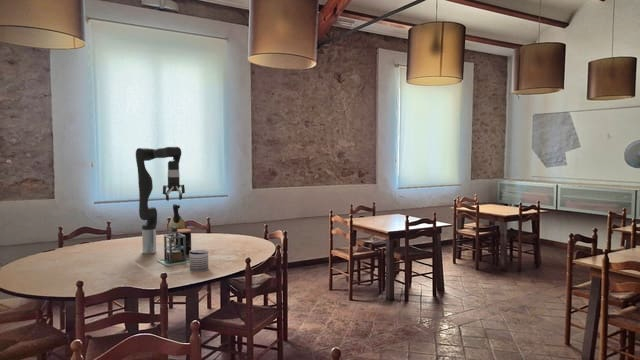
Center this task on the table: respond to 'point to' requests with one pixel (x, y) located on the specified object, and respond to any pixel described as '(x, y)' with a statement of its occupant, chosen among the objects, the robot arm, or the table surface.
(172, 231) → the plunger
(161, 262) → the tray
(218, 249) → the table surface
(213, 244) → the table surface
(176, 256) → the press frame
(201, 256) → the can
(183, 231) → the coffee jar
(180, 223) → the ceramic jug
